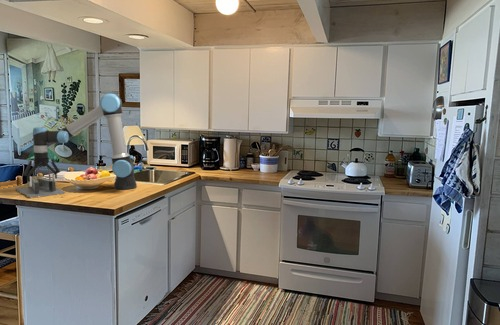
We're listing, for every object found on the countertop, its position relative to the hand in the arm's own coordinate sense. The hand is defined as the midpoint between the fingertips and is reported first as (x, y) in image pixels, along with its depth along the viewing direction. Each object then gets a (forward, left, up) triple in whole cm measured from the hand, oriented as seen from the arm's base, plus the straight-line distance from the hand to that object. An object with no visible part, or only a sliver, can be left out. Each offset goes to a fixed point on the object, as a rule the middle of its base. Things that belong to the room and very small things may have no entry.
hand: (42, 185), depth 227 cm
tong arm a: (+1, -4, -3) cm, 6 cm away
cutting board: (+5, -3, -5) cm, 8 cm away
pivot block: (+13, -9, -4) cm, 16 cm away
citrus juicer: (+23, -26, -5) cm, 35 cm away
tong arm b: (+5, +1, -3) cm, 6 cm away
